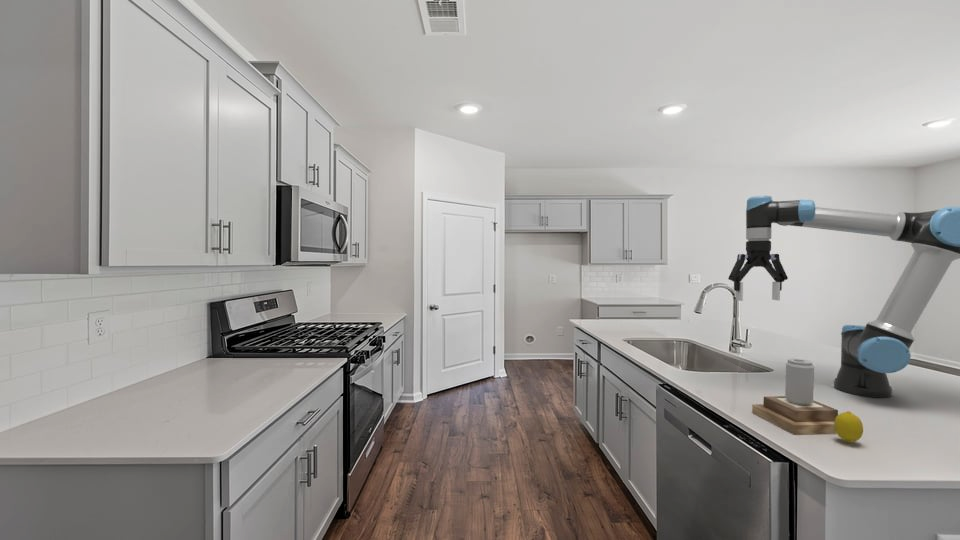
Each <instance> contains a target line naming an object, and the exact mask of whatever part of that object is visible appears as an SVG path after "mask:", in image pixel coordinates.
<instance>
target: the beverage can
mask: <svg viewBox="0 0 960 540" xmlns="http://www.w3.org/2000/svg"><path fill="white" fill-rule="evenodd" d="M814 380H815V366H814V364H813V361H811V360H808V359H803V358H788V359H787V361H786V363H785V395H784V396H785V398H786V399H787V400H788V401H789V402H791V403H793V404H797V405H805V406H806V405H810V404H812V403H813V400H814V391H815V390H814V387H815V386H814V384H815V383H814V382H815V381H814Z"/></svg>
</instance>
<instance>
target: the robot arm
mask: <svg viewBox="0 0 960 540" xmlns="http://www.w3.org/2000/svg"><path fill="white" fill-rule="evenodd" d="M745 222H746V223H745V225H746V228H745V229H746V230H745V238H746V239H745V240H747V241H746V242H745V251H746V254H744V253H739V254H737V256H736V261H735V264H734V265H733V267H732V269H731V272H730V274H729V276H728V278H727V279H728V280H730V281H731V282H733V291H734V292H735V301H738V302H739V301H740V302H743V301H744V282H743V281H742V280H743V279H744V278H745V277H746V276H747V275H748V273H749V272H750V271H751V269H753V268H757V267H758V268H759V267H761V268H764V270H766V271H767V273H768V275H770V276H771V278H772V279H773V280H774V281H772V284H771V285H772V286H771V287H772V289H771V291H772V292H771V293H772V294H771V299H772V301H780V300H781V291H782V287H783V282H786V281H787V280H788V278H789V277H788V275H787V273H786V270H784V269H785V268H784V266H783V264H782V262H781V260H780V254H779V253H772V254H771V250H772V241H771V239H772V224H777V225H779V226H784V227H787V226H791V227H801V228H802V227H803V228H810V229H819V230H820V229H821V230H828V231H836V232H846V233H852V234H853V233H854V234H861V235H862V234H864V235H871V236H879V237H889V238H890V239H891V240H892V241H895V242H904V243H908V244H910V245H911V247H912V249H913V250H914V251H913V253H912V256H911V257H910V259H909V261H908V262H907V264H906V266H905V267H904V269H903V272H902V273H901V275H900V277H899V278H898V280H897V282H896V284H895V286H894V287H893V289H892V291H891V293H890V295H889V296H888V298H887V300H886V301H885V303H884V305H883V307H882V309H881V311H880V313H879V314H878V316H877V318H876V319H875V320H873V321H869V322H867V323H866V325H858V324H857V325H856V324H854V325H853V324H852V325H851V324H845V325H843V326H842V328H841V329H842V330H841V333H840V334H841V343H840V344H841V351H840V352H841V353H840V357H841V358H840V360H841V361H840V368H839V369H838V372H837V376H836V377H835V378H834V380H833V383H834V384H833V387H834V389H836V390H837V391H838V390H839V391H841V392H843V393H844V392H845V393H848V394H852V395H857V396H862V397H863V396H864V397H869V398H871V397H872V398H890V397H892V396H893V389H892V386H890V382H889V378H888V376H887V374H893V373H896V372H897V373H898V372H899V371H902V370H903V369H905V368H906V367H907V366H908V365H909V363H910V362H911V351H910V348H911V346H912V345H913V343H914V341H915V337H913V334H912V332H913V329H914V327H915V326H916V325H917V323H918V321H919V319H920V318H921V316H922V314H923V312H924V310H925V308H926V307H927V305H928V303H929V302H930V300H931V299H932V297H933V295H934V293H935V292H936V290H937V288H938V287H939V285H940V283H941V281H942V280H943V278H944V277H945V275H946V273H947V272H948V269H949V268H950V266H951V264H952V263H953V262H954V261H956V260H959V259H960V206H948V207H944V208H943V207H942V208H941V209H935V210H931V211H922V212H905V211H899V212H898V213H896V214H893V213H884V212H883V213H880V212H872V211H871V212H869V211H862V210H860V211H859V210H849V209H841V208H832V207H831V208H828V207H820V206H817V207H816V203H815V201H814V200H812V199H796V200H794V199H793V200H780V201H777V200H776V201H774V200H773V197H772V196H771V195H756V196H755V195H754V196H750V197H749V198H747V200H746V209H745ZM770 260H771V262H772V263H771V262H770ZM745 261H746V262H745Z"/></svg>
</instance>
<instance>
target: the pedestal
mask: <svg viewBox="0 0 960 540" xmlns="http://www.w3.org/2000/svg"><path fill="white" fill-rule="evenodd" d="M751 413H752V414H753V415H756V416H758V417H760V418H761V419H764V420H765V421H767V422H769V423H771V424H773V425H775V426H777V427H779V428H781V429H783V430H784V431H787V432H788V433H790V434H791V435H831V434H835V435H836V434H837V433H836V431H835V428H834V423H835V419H836V417H837V415H839V410H838V409H836V408H834V407H832V406H829V405H826V404H824V403H821V402H819V401H816V400H814V399H813V403H812V404H810V405H806V406H805V405H797V404H793V403H791V402H789V401H788V400H787V399H786V398H785V395H784V396H783V395H781V396H779V395H777V396H776V395H775V396H771V395H770V396H763V403H758V404H757V403H756V404H755V403H754V404H752V406H751ZM837 435H838V434H837Z"/></svg>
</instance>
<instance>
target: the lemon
mask: <svg viewBox="0 0 960 540" xmlns="http://www.w3.org/2000/svg"><path fill="white" fill-rule="evenodd" d="M863 425H864V424H863V422H862V421H861V418H859V416H857V415H856V414H854V413H852V411H844V412H840V413H838V415H837V417H836V419H835V423H834V428H835V431H836V433H837V436H838V437H839V438H841V440H844V441H845V443H848V444H850V443H852V442H856V441H859V440H860V439H861V438H862V436H863V434H864V426H863Z"/></svg>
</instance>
